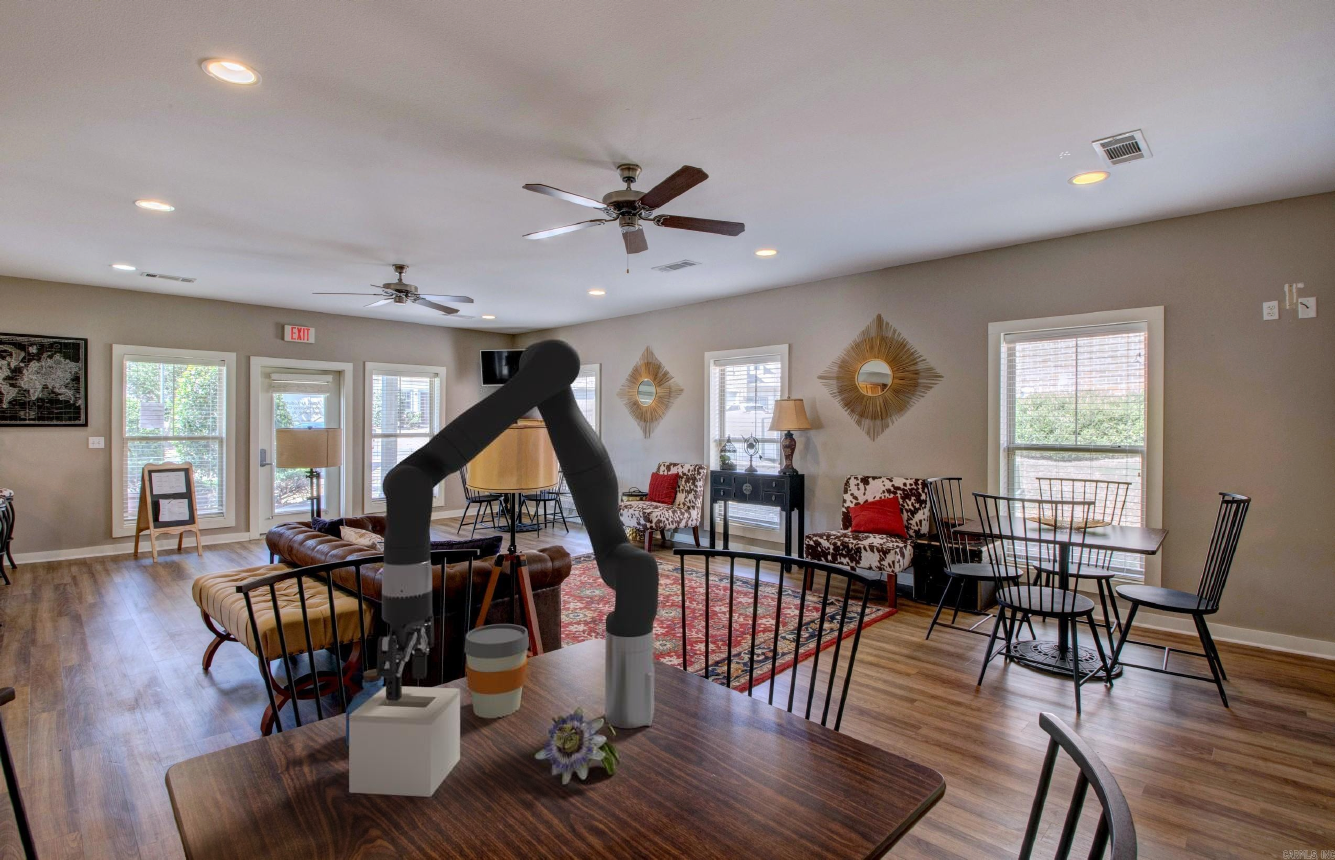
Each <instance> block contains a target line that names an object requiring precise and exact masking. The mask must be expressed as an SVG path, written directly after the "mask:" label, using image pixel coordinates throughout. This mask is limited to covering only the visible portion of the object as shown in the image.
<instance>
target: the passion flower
mask: <svg viewBox="0 0 1335 860" xmlns="http://www.w3.org/2000/svg"><path fill="white" fill-rule="evenodd" d="M551 720H552V721H553V723H554V724H552V726H553V727H550V728H549V729H548V732H547V733H548V735H549V736H550V738H549V739H548V740H547V741H545V742H544V746H543V747H542V748H540V749H539V750H538V751H536V753H534V758H535V759H536V760H541V761H542V760H545V759H548V761H549V763H551V764H552V765H551V770H550V771H551V776H552V777H555V776H558V775H561V784H562V785H563V786H565V785H568V783H570V781H571V780H572V776H573V772H576V774H577V776H578V778H580V779H581V780H583V781H584V780H586V778H587V777H588V775H589V773H590V771H589V770H590V769H589V765H590V762H591V761H593V760H594V761H601V762H602V764H603V766H604V767H605V770H606V772H607V773H608V775H611V776H613V775H614V774H615V772H616V765H618V766H619V765H620V764H621V762H620V758H619V754H618V753H617V750H616V747H615V746H613V744H611V742H609V741H607V738H606V736H605V735H602V734H599V733H597V732H598V731H599V730H601V729H603V728H604V727H606V728H608V730H609V731H610V733H611V736H612V738H615V737H616V732H615V730H614V728H613V726H612V725H610V723H607V724H604V722H605V721H604V719H603V718H598V719H594V720H592V721H589V722H586V719H585V712H584V707H582V706H581V705H579V706H578V707H576V709H575V710H574V712H573V713H572V714H569V715H566V716H563V715H557V719H556V718H555V717H552V718H551ZM585 722H586V723H585ZM615 761H616V762H617V764H616V765H615Z"/></svg>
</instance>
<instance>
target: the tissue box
mask: <svg viewBox="0 0 1335 860" xmlns="http://www.w3.org/2000/svg"><path fill="white" fill-rule="evenodd" d="M383 687H384V688H383V689H382V690H380V691H379V692H378V693H377V694H375V695H374V696H373V697H372V698H370V699H369V700H368V701H366V702H365V703H364V704H363V705H361V706H360V707H359V708H358V709H356V710H355V711H354V712H353V713H351V714H350V715H349V745H348V747H349V748H348V753H349V755H348V757H349V759H348V760H349V762H348V764H349V765H348V769H349V770H348V773H349V774H348V783H349V788H348V791H349V793H351V794H353V793H354V794H374V795H389V796H390V795H392V796H407V797H409V796H410V797H413V796H414V797H427V798H429V797H430V798H431V797H432V796H433V795H434V793H435V792H436V790H437V789H438V788H439V787H440V785H441V784H442V783H443V782H444V780H445V779H446V778H447V777H448V776H449V774H450V773H451V771H452V770H453V768H454V767H456V765H457V763H458V762H459V761H460V760H461V688H454V687H453V688H452V687H451V688H450V687H449V688H448V687H430V686H427V687H426V686H425V687H424V686H402V697H401V698H400V699H399V700H398V701H390V700H387V699H386V686H383Z"/></svg>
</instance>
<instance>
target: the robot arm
mask: <svg viewBox="0 0 1335 860" xmlns="http://www.w3.org/2000/svg"><path fill="white" fill-rule="evenodd" d="M518 368H519V370H518V371H517V372H516V373H515V374H514V375H513V376H512V377H511V378H510V379H509V380H507V382H505V383H504V384H503V385H501V386H500V387H498V388H497V389H496V390H495V391H493V392H492V393H491V394H490V395H487V396H486V397H484V398H483V399H481V400H480V401H478V402H477V403H475V404H474V405H472V406H471V407H469V408H468V409H466V410H464V412H462V413H461V414H459V415H458V416H457V417H455V418H454V419H453V420H452V421H450V422H449V423H448V424H446V426H444V427H443V428H442V429H441V430H440V431H438V433H436V434H435V435H434V436H433V437H431V439H430V440H429V441H428V442H427V443H425V444H424V445H422V446H421V447H419V448H418V449H417V450H415V451H414V452H412V453H411V454H409V455H408V456H407V457H405V458H404V459H402V460H401V461H399V462H398V463H397V464H396V465H394V466H393V467H392V468H391V469H390V470H389V471H388V472H387V473H386V474H385V475H384V478H383V480H382V486H381V487H382V492H383V496H384V498H385V506H386V510H385V511H386V513H385V515H386V529H385V532H384V537H383V567H382V575H381V618H382V620H383V622H386V623H387V624H389V626H390V628H389V629H390V630H389V633H388V635H387V636H379V637H378V639H377V654H376V669H377V677H383V678H385V687H386V699H387V700H390V701H398V700H399V699H400V698H401V697H402V685H403V684H402V683H403V678H402V677H403V675H402V673H403V669H404V666H405V664H406V663H407V662H408V661H409V660H410V657H411V653H412V655H413V656H412V658H411V659H412V660H411V661H412V662H411V663H412V666H411V667H412V670H411V671H412V672H411V673H412V678H413V679H414V680H415V679H417V680H418V679H419V680H423V679H425V678H426V677H427V676H428V655H429V653H430V648H433V647H434V645H435V627H434V626H435V625H434V624H435V623H434V621H435V620H434V613H433V569H432V563H431V532H430V530H431V522H432V521H431V520H432V515H433V514H432V512H433V502H434V488H435V487H436V486H438V485H439V484H440V483H441V482H442V481H444V480H445V479H446V478H447V477H449V476H450V475H452V474H455V473H457V472H459V471H461V470H462V469H463V468H464V467H466V466H467V465H468V464H469V463H470V462H472V461H473V460H474V459H475V458H476V457H477V456H478V455H480V454H481V453H482V452H483V451H484V450H486V448H487V447H489V446H490V444H492V443H493V442H494V441H495V440H497V439H498V438H499V437H500V436H501V435H502V434H503V433H505V432H506V431H507V430H508V429H509V428H510V427H512V425H513V424H515V423H517V421H519V420H520V419H521V418H522V417H524V416H525V415H527V414H528V413H529V412H531V411H532V410H533V409H535V408H537V411H538V412H539V415H540V416H541V419H542V420H543V423H544V425H545V429H546V431H547V434H548V437H549V440H550V442H551V446H552V449H553V451H554V454H555V456H556V459H557V462H558V465H559V467H560V471H561V473H562V475H563V478H564V481H565V483H566V486H567V488H568V491H569V492H570V493H569V494H570V495H571V497H572V499H573V502H574V504H575V507H576V509H577V511H578V513H579V516H580V518H581V521H582V523H583V525H584V528H585V529H586V533H587V535H588V538H589V541H590V544H591V548H592V552H593V555H594V558H595V559H594V560H595V563H596V566H597V570H598V573H599V576H600V578H601V580H602V581H603V583H604V584H605V585H606V586H607V587H608V589H611V590H612V591H615V597H614V598H615V599H614V602H615V603H614V609H613V610H612V611H610V612H609V613H608V614H607V615H606V617H605V657H604V658H605V666H604V667H605V668H604V669H605V671H604V673H605V677H604V678H605V679H604V680H605V683H604V684H605V685H604V686H605V687H604V688H605V689H604V690H605V692H604V693H605V694H604V697H605V703H604V705H605V706H604V717H605V718H604V719H605V722H606V723H607V724H608V723H610V725H611V727H615V728H620V729H636V728H640V727H645V726H647V727H650V726H652V721H653V719H654V714H655V664H654V622H655V619H656V617H657V613H658V606H659V586H660V585H659V584H660V575H659V574H660V573H659V565H658V562H657V560H656V558H655V557H654V555H653V554H652V553H650V552H649V551H647V550H645V549H642V548H639V547H636V546H634V544H633V543H632V542H631V540H630V538H629V536H628V534H627V532H626V529H625V527H624V525H623V523H622V519H621V515H620V508H619V507H620V505H619V502H620V501H619V500H620V499H619V496H620V493H619V482H618V481H619V480H618V477H617V474H616V471H615V468H614V465H613V463H612V461H611V457H610V455H609V452H608V451H607V448H606V447H605V445H604V443H603V441H602V440H601V438H600V436H599V435H598V434H597V432H596V431H595V429H594V428H593V426H592V425H591V423H590V422H589V421H588V420H587V418H586V417H585V416H584V414H583V412H582V411H581V409H580V406H579V405H578V402H577V400H576V397H575V394H574V391H573V389H572V385H573V384H574V382H575V381H576V379H577V378H578V376H579V374H580V369H581V359H580V355H579V353H578V351H577V350H576V348H575V347H574V346H573V345H571V343H569V342H567V341H565V340H562V339H556V338H555V339H553V338H552V339H551V338H549V339H545V340H542V341H538V342H534V343H532V344H530V345H528V346H527V347H526V348H525V349H524V350H523V351H522V353H521V355H520V357H519V362H518Z"/></svg>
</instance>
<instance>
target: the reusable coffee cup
mask: <svg viewBox="0 0 1335 860" xmlns="http://www.w3.org/2000/svg"><path fill="white" fill-rule="evenodd" d="M464 640H465V643H464V651H463V652H464V653H465V655H466V663H465V670H466V671H465V673H466V678H467V679H466V680H467V687H468V688H469V690H470V693H471V699H472V700H471V701H472V708H473V713H474V714H475V715H476V716H478V717H481V718H485V719H498V718H497V717H500V718H504V717H507V715H508V716H510V715H513V714H514V713H516V712H517V711H518V710H519V709H520V706H521V698H522V693H523V692H522V690H523V686H524V684H525V683H526V677H527V670H528V669H527V668H528V663H529V662H528V661H529V659H528V657H527V652H528V648H529V647H530V642H529V633H528V629H527V628H526V627H525V626H522V625H518V624H512V623H497V624H496V623H495V624H489V625H482V626H479V627H476V628H474V629H471V630H470V631H468V632H466V634H465V639H464ZM516 710H517V711H516ZM515 711H516V712H515ZM513 712H514V713H513ZM512 713H513V714H512ZM503 716H504V717H503Z"/></svg>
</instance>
